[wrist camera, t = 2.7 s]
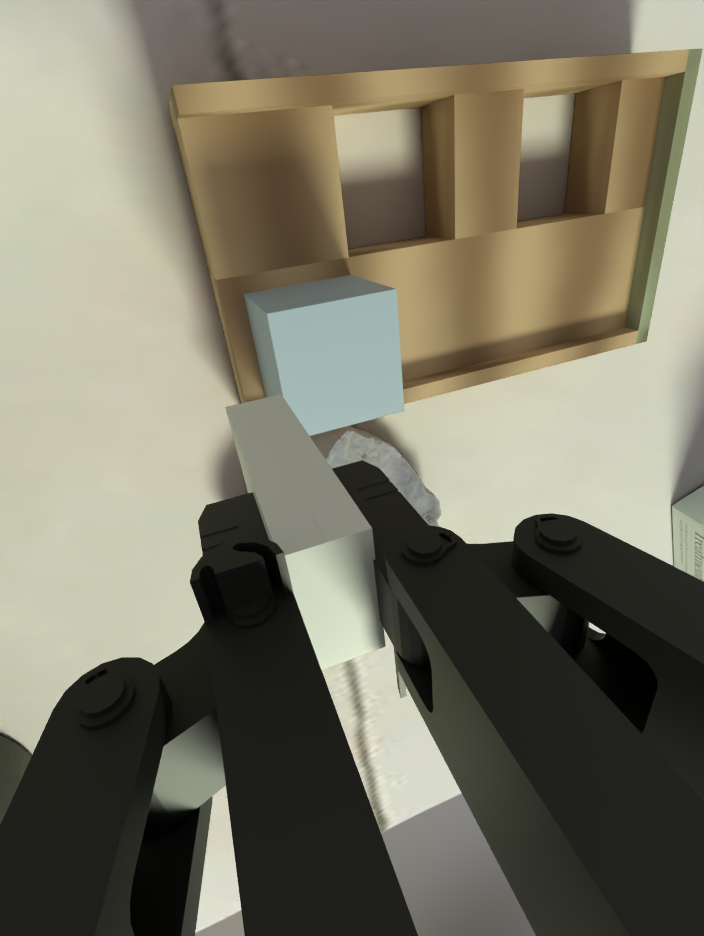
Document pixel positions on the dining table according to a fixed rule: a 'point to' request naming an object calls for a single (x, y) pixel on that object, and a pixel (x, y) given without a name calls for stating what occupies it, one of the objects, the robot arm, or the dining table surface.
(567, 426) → the dining table surface
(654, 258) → the trap box
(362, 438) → the stone block
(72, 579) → the dining table surface
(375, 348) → the block
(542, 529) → the robot arm
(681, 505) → the skincare box
